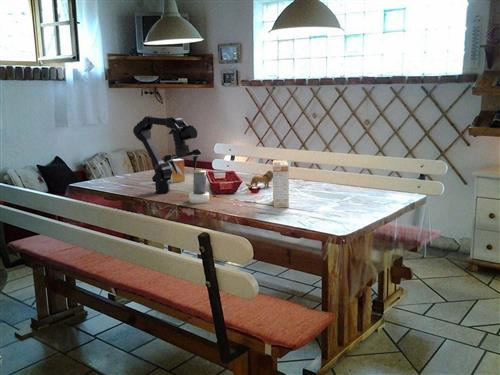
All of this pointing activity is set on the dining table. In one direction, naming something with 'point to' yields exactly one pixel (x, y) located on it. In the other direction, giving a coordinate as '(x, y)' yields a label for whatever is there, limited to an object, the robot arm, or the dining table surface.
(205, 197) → the ceramic trivet
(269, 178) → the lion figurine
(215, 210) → the dining table surface
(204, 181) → the grey tin
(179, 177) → the small box
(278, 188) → the coffeecake box
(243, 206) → the dining table surface
